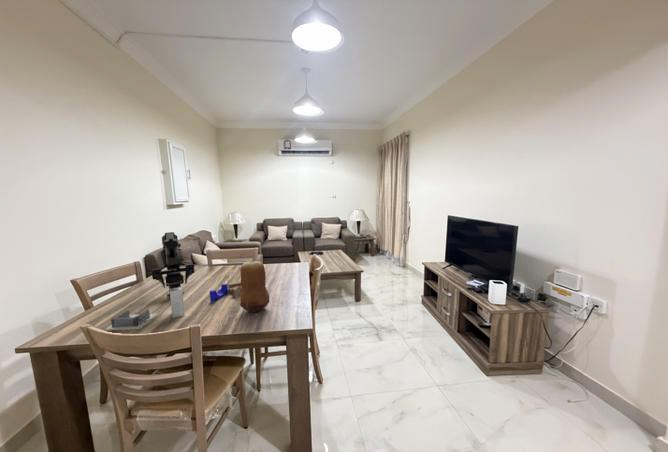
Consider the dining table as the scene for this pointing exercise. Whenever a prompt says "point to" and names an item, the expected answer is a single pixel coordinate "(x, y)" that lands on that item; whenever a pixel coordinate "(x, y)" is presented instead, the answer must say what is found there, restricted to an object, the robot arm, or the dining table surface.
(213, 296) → the cable clip
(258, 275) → the butternut squash
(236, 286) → the wooden block set
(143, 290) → the dining table surface
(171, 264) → the robot arm
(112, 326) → the keeper bracket
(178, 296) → the white upright block
